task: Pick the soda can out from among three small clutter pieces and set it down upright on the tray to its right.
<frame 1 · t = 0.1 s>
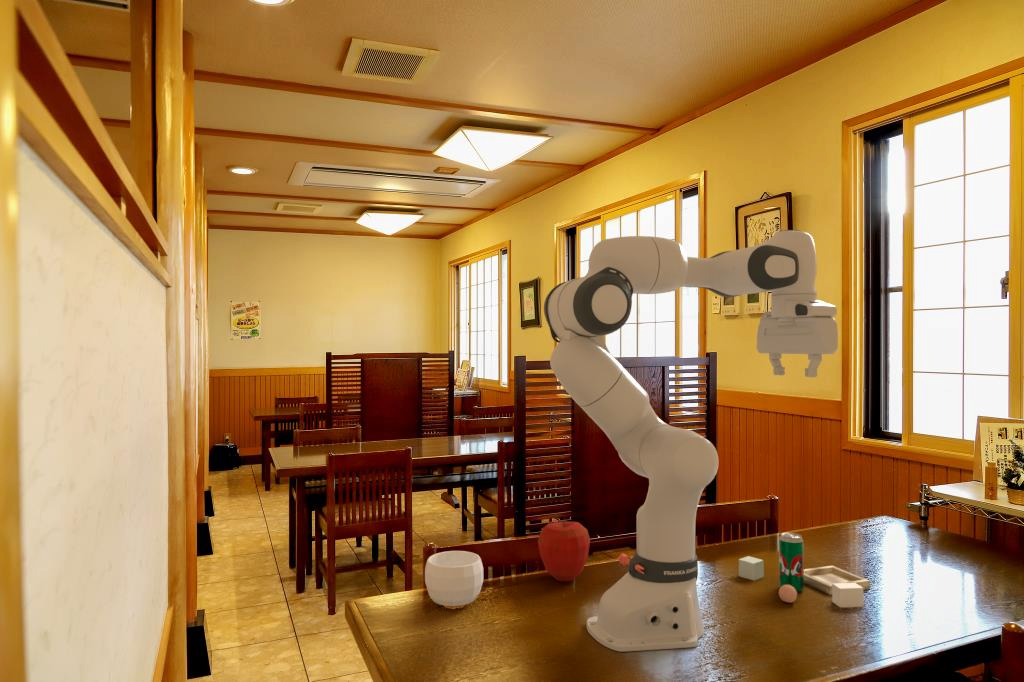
hand: (794, 376, 142), 48 cm above the table, fingers open, 8 cm apart
soda can: (791, 590, 152), on the table
cream block: (847, 604, 143), on the table
sage block: (751, 576, 161), on the table
terracotta ball: (787, 593, 145), point 2 cm above the table
apple: (564, 579, 160), on the table
tray: (831, 583, 156), on the table
cup: (454, 605, 145), on the table
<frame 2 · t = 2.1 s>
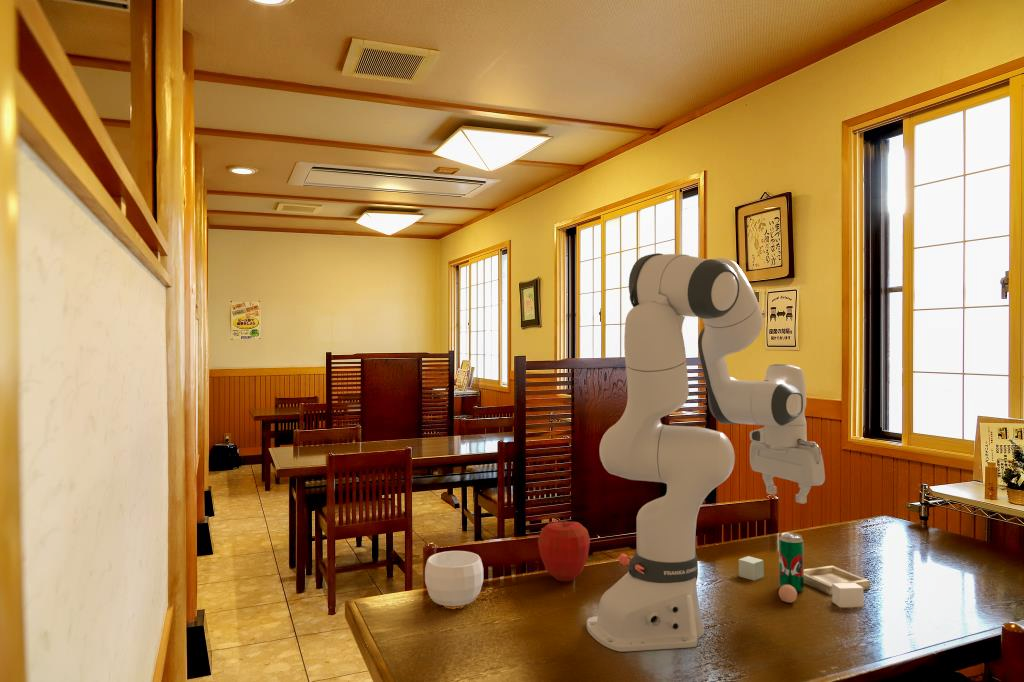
hand: (785, 498, 154), 20 cm above the table, fingers open, 8 cm apart
nothing on the table moved.
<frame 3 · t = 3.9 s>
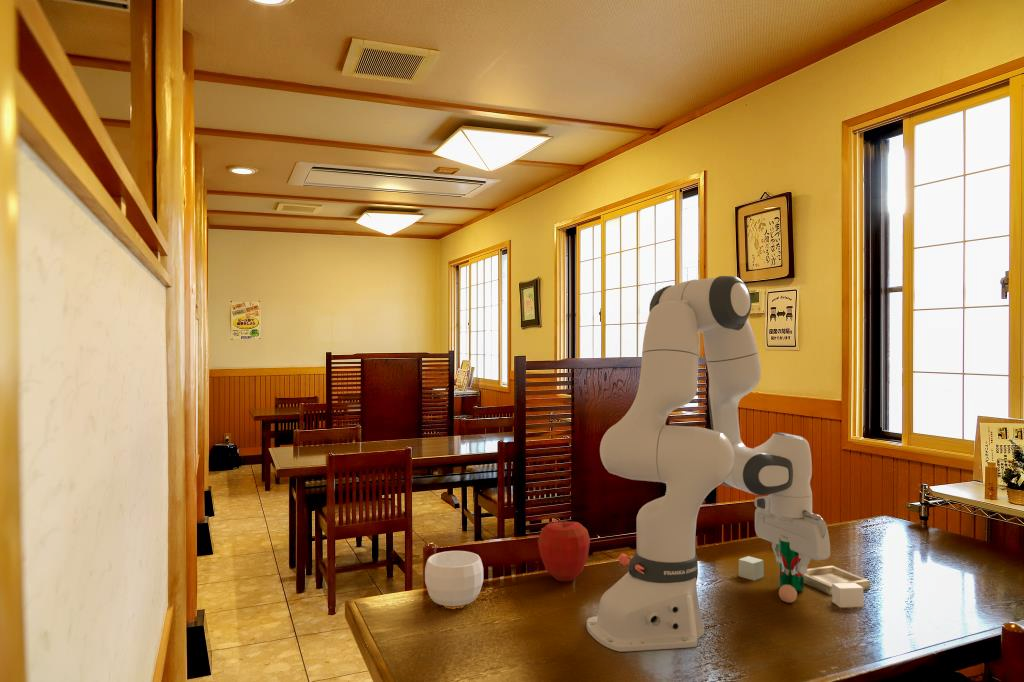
hand: (791, 568, 152), 5 cm above the table, fingers closed on soda can, 5 cm apart
soda can: (791, 590, 152), on the table, touching gripper
everything else where it was.
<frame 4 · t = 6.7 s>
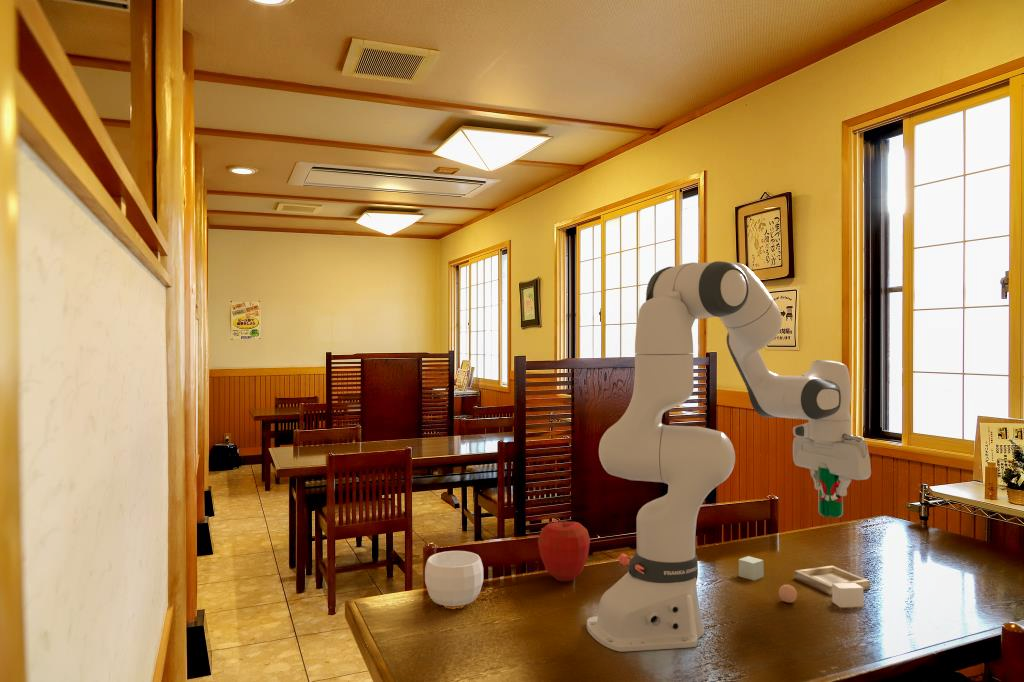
hand: (830, 492, 156), 21 cm above the table, fingers closed on soda can, 5 cm apart
soda can: (830, 516, 156), point 15 cm above the table, touching gripper
everything else where it was.
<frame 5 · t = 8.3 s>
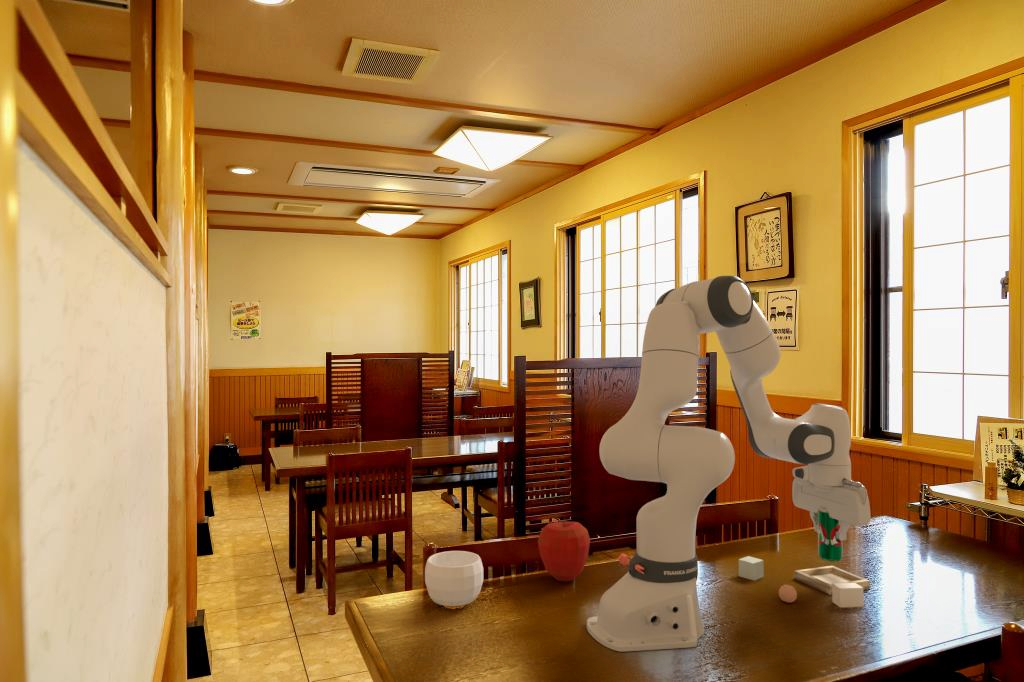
hand: (829, 535, 156), 11 cm above the table, fingers closed on soda can, 5 cm apart
soda can: (830, 559, 156), point 5 cm above the table, touching gripper
everything else where it was.
when the fingers open (7 cm above the table, at t = 9.5 s): soda can drops 1 cm, resting on tray.
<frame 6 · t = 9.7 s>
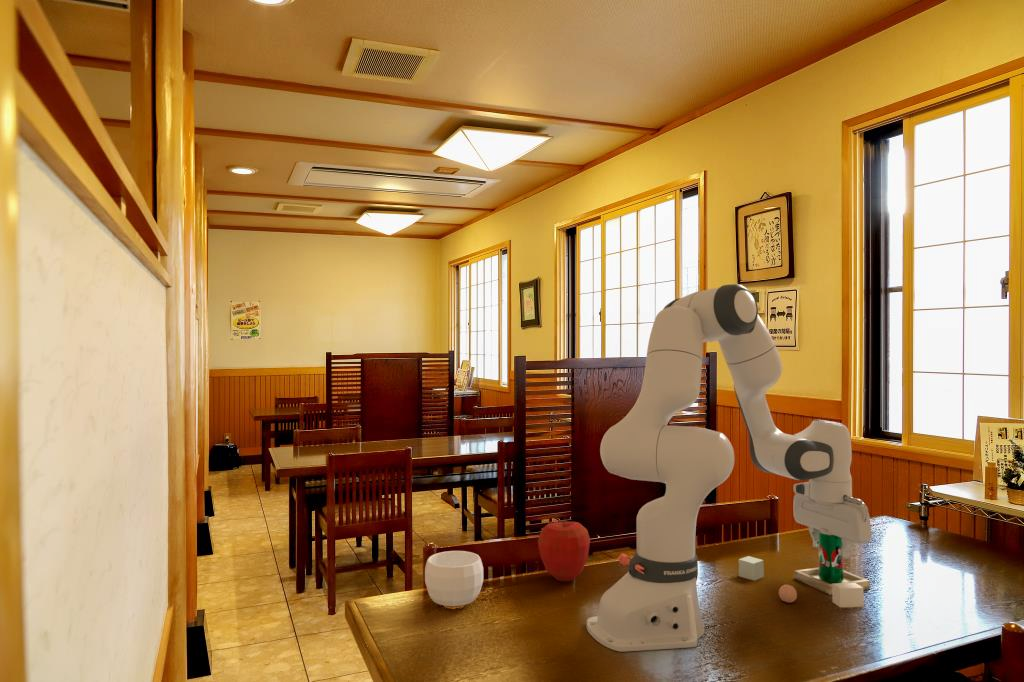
hand: (830, 552, 156), 7 cm above the table, fingers open, 6 cm apart
soda can: (831, 581, 156), resting on tray
everything else where it was.
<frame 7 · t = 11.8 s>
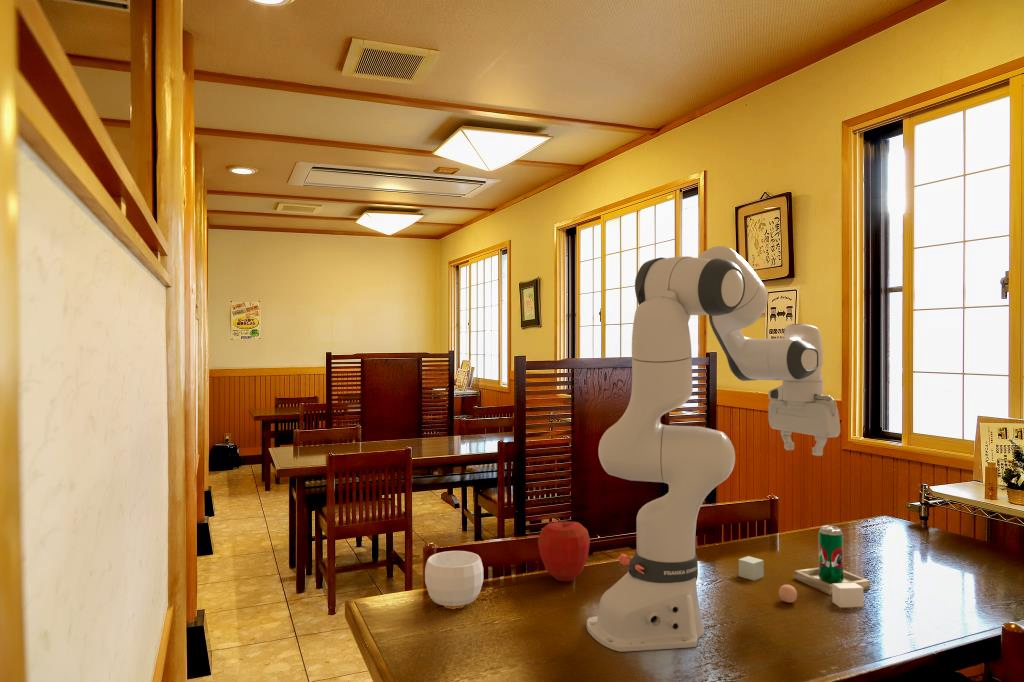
hand: (803, 452, 161), 29 cm above the table, fingers open, 8 cm apart
nothing on the table moved.
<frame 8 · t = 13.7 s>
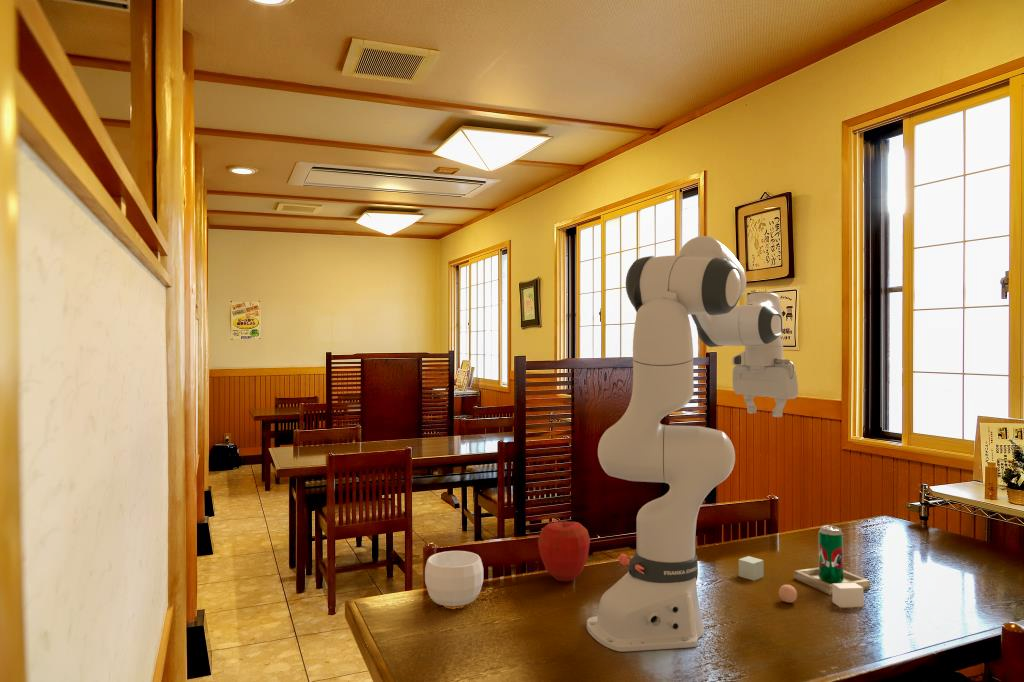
hand: (764, 414, 168), 37 cm above the table, fingers open, 8 cm apart
nothing on the table moved.
at the end: soda can inside the target area on the tray (0.1 cm from its centre), point 0.4 cm above the tray's base; soda can touching tray; soda can tilted 0° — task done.
